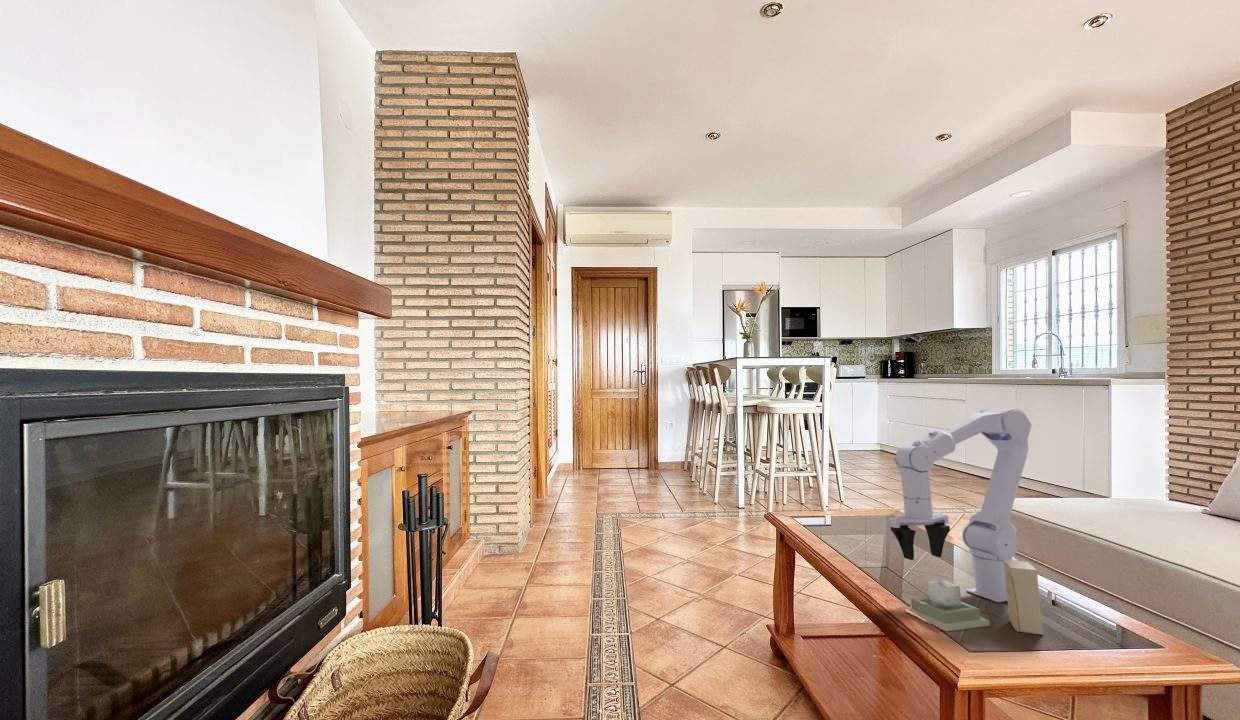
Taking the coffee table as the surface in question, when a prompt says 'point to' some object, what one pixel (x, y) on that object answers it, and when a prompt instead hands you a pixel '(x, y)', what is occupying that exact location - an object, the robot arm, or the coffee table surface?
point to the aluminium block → (944, 595)
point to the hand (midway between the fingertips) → (922, 557)
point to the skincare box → (1023, 596)
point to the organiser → (948, 615)
